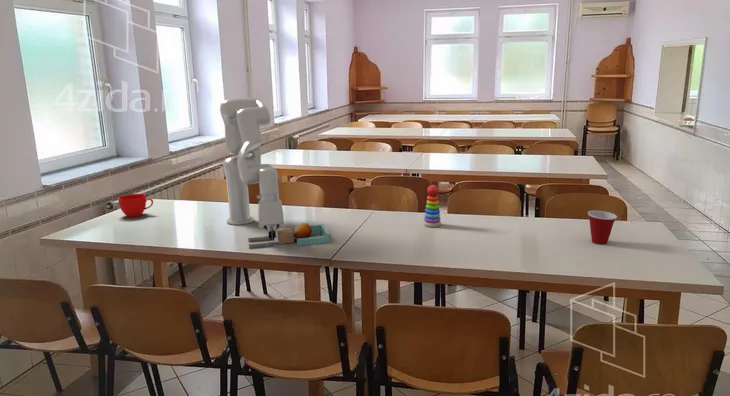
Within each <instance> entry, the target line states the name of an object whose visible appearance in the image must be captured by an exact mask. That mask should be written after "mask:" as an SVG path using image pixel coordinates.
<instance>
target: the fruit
mask: <svg viewBox="0 0 730 396" xmlns="http://www.w3.org/2000/svg"><path fill="white" fill-rule="evenodd" d="M310 225H311V224H309V223H305V222H302V223H300V224H298V225H297V227H296V226H294V227H295V229H294V230H293V231H294V235H295V239H296V240H297V239H301V238H311V237H312V235H311V234H312V228H311V226H310Z"/></svg>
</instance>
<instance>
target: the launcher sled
mask: <svg viewBox="0 0 730 396" xmlns="http://www.w3.org/2000/svg"><path fill="white" fill-rule="evenodd" d="M276 231H277V232H276V236H277V241H278V244H279V245H280V244H281V245H282V244H292V243H294V242H295V241H296V240H295V239H296V238H295V235H294V230H293V228H292V227H286V228H285V227H284V228H278V229H277V230H276Z"/></svg>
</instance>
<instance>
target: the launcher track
mask: <svg viewBox="0 0 730 396" xmlns="http://www.w3.org/2000/svg"><path fill="white" fill-rule="evenodd" d="M262 241H264V242H262ZM265 241H266V242H265ZM267 241H270V242H267ZM250 242H251V243H250ZM252 242H258V243H252ZM259 242H260V243H259ZM248 243H249V244H248V249H257V248H268V247H274V246H275V245H274V243H275V242H273V241H271V239H270V238H269V235H267V236H265V235H264V236H258V237H257V236H256V237H248Z"/></svg>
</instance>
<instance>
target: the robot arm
mask: <svg viewBox="0 0 730 396" xmlns="http://www.w3.org/2000/svg"><path fill="white" fill-rule="evenodd" d="M219 112H220V115H221V119H222V121H223V124H224V137H225V149H226V152H227V153H228V154H230V155H234V156H231V157H227V158H226V159H225V160H224V161H223V163H222V164H223V165H222V166H223V172H224V175H225V180H226V189H227V198H228V209H229V218H227V219H226V223H227V224H229V225H232V226H233V225H235V226H237V225H240V226H242V225H245V224H246V225H248V224H251V223H253V222H254V221H255V219H254V217H253V216H251V211H250V210H251V209H250V198H249V186H248V185H254V184H258V185H259V194H258V195H256V200H257V199H259V200H258V207H257V209H258V211H257V212H258V213H257V215H258V228H261V229H262V228H263V229H265V230H266V231H267V232H268V236H269V238H270V239H271V240H270V242H273V241H275V240H276V239H277V232H276V231H277V229H279V228H280V227H282V226H285V219H284V210H283V203H282V200H281V199H280V196H279V182H278V181H279V178H278V170H277V168H276V167H273V165H272V164H269V163H266V164H265V163H264V164H262V151H261V150H262V149H261V147H262V146H261V145H262V144H263V142H264V140H263V136H262V132H261V128H260V127H266V126H269V124H270V123H271V114H270V112H269V108H267V107H266V105H265V104H264V103H263V102H262V101H261V100H260V99H258V98H256V97H246V98H230V99H225V100H222V102H221V103H220V106H219ZM235 155H237V156H235ZM271 226H272V228H271Z"/></svg>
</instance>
